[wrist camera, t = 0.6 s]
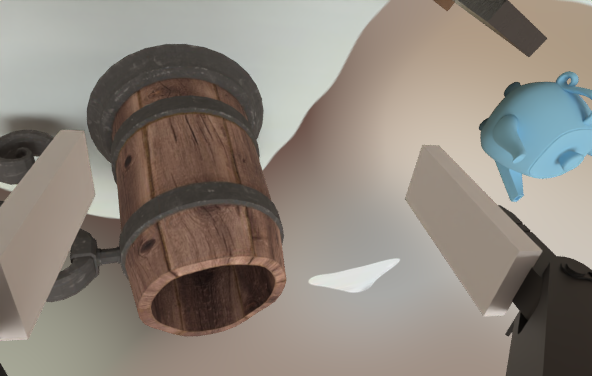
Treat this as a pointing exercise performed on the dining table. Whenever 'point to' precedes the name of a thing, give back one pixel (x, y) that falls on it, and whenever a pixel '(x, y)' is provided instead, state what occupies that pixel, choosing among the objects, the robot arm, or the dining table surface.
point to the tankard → (177, 190)
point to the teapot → (538, 131)
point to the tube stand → (445, 3)
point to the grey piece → (506, 23)
